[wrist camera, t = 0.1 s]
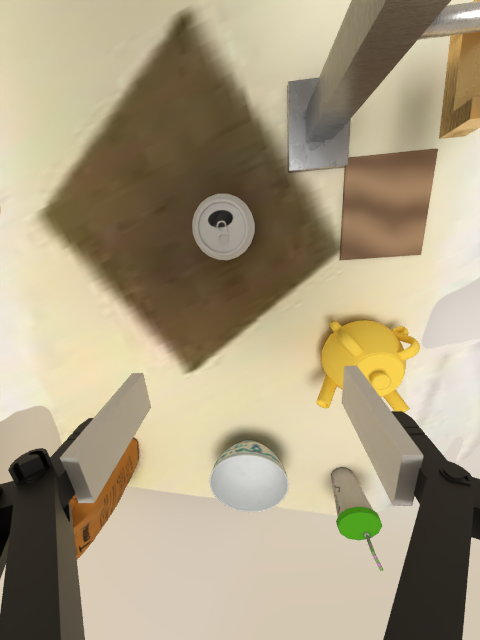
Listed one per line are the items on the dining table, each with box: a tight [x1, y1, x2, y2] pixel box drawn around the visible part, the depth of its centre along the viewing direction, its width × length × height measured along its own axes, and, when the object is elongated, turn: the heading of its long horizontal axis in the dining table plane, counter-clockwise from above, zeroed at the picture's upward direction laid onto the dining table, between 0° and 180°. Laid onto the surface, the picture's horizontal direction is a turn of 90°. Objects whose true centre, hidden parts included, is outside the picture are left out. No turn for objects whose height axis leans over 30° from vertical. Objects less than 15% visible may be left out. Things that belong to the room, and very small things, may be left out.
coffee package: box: [69, 439, 138, 559], centre depth 47 cm, size 10×12×22 cm
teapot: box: [317, 320, 420, 412], centre depth 40 cm, size 14×14×11 cm
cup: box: [331, 467, 383, 571], centre depth 49 cm, size 8×8×15 cm
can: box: [192, 194, 255, 260], centre depth 34 cm, size 8×8×12 cm
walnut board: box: [340, 149, 438, 260], centre depth 37 cm, size 14×12×1 cm
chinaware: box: [210, 440, 288, 512], centre depth 51 cm, size 15×15×8 cm
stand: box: [287, 0, 480, 173], centre depth 23 cm, size 10×20×24 cm, turn 94°
